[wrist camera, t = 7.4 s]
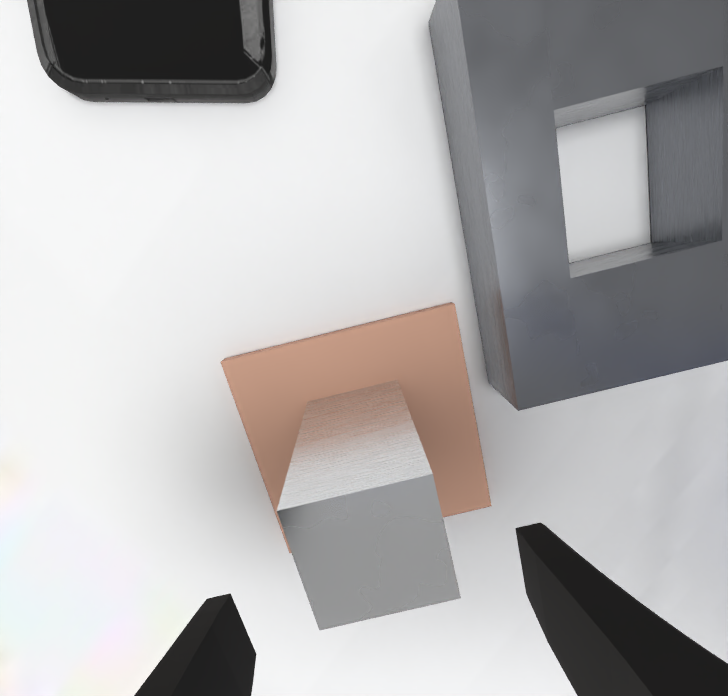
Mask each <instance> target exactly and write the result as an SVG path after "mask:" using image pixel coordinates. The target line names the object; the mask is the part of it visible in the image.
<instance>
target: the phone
mask: <svg viewBox="0 0 728 696" xmlns="http://www.w3.org/2000/svg"><path fill="white" fill-rule="evenodd" d="M27 2H28V8H29V13H30V18H31V23H32V28H33V33H34V38H35V43H36V49H37V53H38V56H39V59H40V62H41V65H42V67H43V69H44V70H45V72H46V73H47V75H48V76H49V78H51V79H52V80H53V81H54V82H55V83H56V84H57V85H58V86H60V87H61V88H63V89H65V90H67V91H68V92H70V93H72V94H74V95H76V96H78V97H79V98H81V99H83V100H87V101H93V102H181V103H249V102H255V101H258V100H259V99H261V98H263V97H264V96H265V95H266V94H267V93H268V92H269V91H270V89H271V88H272V85H273V83H274V80H275V77H276V52H275V35H274V17H273V0H27ZM104 98H108V99H109V100H106V99H104Z"/></svg>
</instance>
